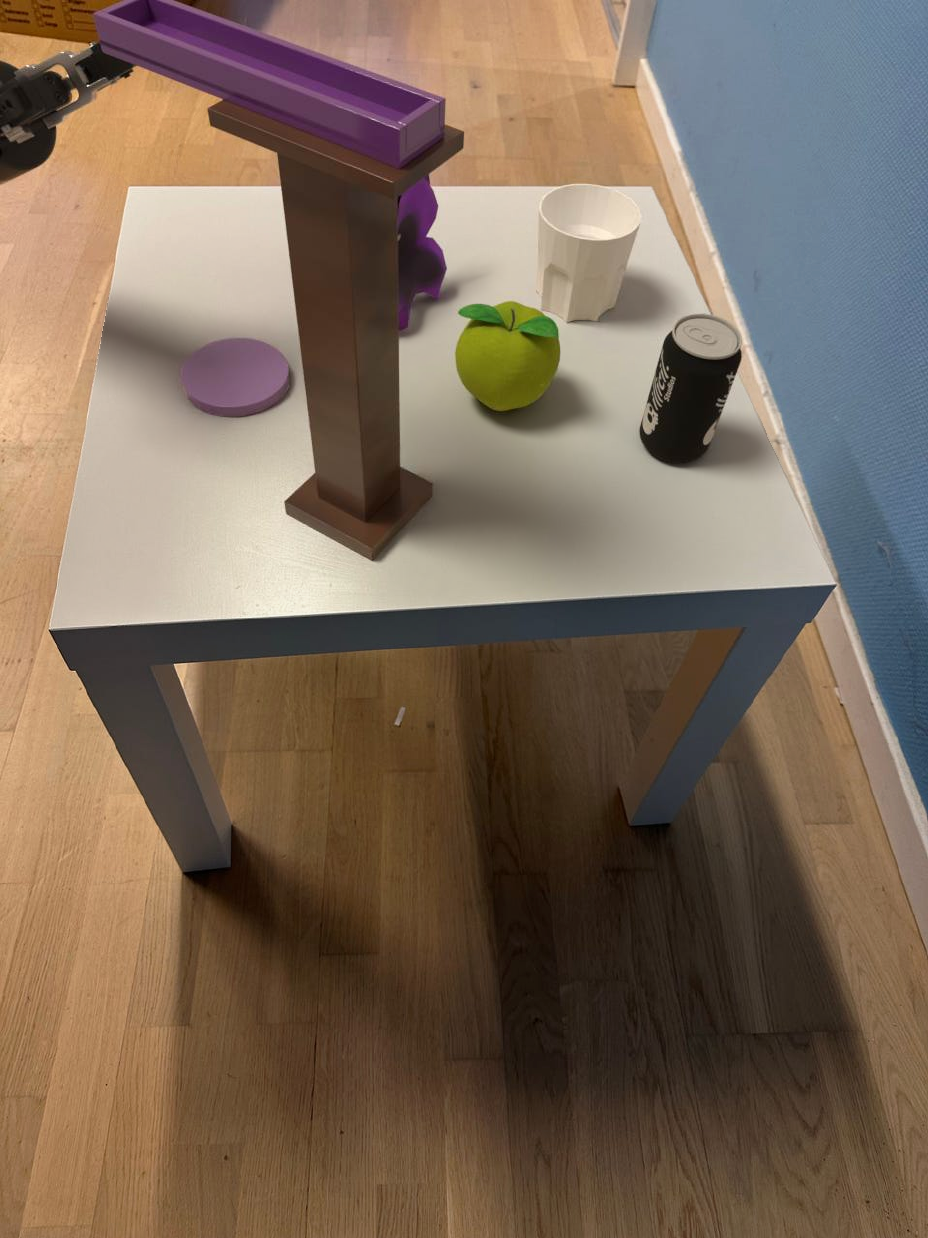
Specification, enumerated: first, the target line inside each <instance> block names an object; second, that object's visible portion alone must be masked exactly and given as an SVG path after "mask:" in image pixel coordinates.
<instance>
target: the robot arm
mask: <svg viewBox="0 0 928 1238" xmlns="http://www.w3.org/2000/svg"><path fill="white" fill-rule="evenodd" d="M57 66H61V67H62V68H63V69H64V70H65V72H66V74H67V76H65V77H63V76H62V75H61V74H60V73H58V72H56V71H53V70H52V69H53V68H55V67H57ZM135 67H138V66H137V65H134V64H132V63H129V62H127V61H124V60H121V59H119V58H116V57H114V56H111V55H109V54H106V53H104V52H103V51H102V48H101V44H100V41H97V42H96V41H92V42H91V43H89V44H88V47H86V48H84V49H82V50H80V51H79V52H77V53H75V52H73V51H72V50H63V51H60V52H58V53H57V54H54V55H52V56H51V57H49V58H47V59H45V60H43V61H41V62H40V63H31V64H27V65H25V66H23V67H21V68H18V67H16V66H15V65H13V64H11V63H9V62H6V61H3V60H0V186H2V185H4V184H6V183H8V182H10V181H13V180H15V179H16V178H19V177H20V176H23V175H25V174H27V173H29V172H30V171H33V170H35V169H37V168H39V167H40V166H42V165H43V164H44V163H46V162H47V161H48V159H50V157H51V156H52V154H53V151H54V149H55V147H56V144H57V143H56V142H57V126H59V125H60V124H62V123H64V122H66V121H67V120H68V118H69V115H70V114H73V113H74V112H76V111H78V110H80V109H82V108H84V107H85V106H87V105H89V104H91V103H93V102H95V101H96V100H97V98H98V97H97V96H98V92H99V91H102V90H103V89H105V88H107V87H108V86H112V85H115V84H116V83H118V81H120V80H121V79H128V78H129V77H131V74H132V73H134V72H135V71H134V68H135ZM75 90H76V91H77V94H78V97H77V99H76V100H75V101H73V102H72V100H73V93H72V92H73V91H75Z"/></svg>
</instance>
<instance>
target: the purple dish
mask: <svg viewBox="0 0 928 1238" xmlns="http://www.w3.org/2000/svg"><path fill="white" fill-rule="evenodd" d="M92 16H93V20H94V25H95V29H96V32H97V36H98V41H99V42H100V44H101V48H102V51H103V52H104V53H106V54H109V55H111V56H114V57H116V58H119V59H121V60H124V61H127V62H129V63H132V64H134V65H137V66H136V67H140V68H142V69H144V70H146V71H149V72H152V73H155V74H157V75H160V76H163V77H165V78H167V79H170V80H171V81H175V82H177V83H180V84H182V85H186V86H187V87H190V88H193V89H195V90H197V91H200V92H203V93H206V94H208V95H211V96H212V97H216V98H218V99H221V100H226V101H228V102H231V103H233V104H236V105H238V106H241V107H244V108H246V109H249V110H251V111H254V112H256V113H259V114H261V115H264V116H266V117H269V118H272V119H274V120H277V121H279V122H282V123H284V124H287V125H289V126H292V127H294V128H297V129H300V130H302V131H305V132H307V133H310V134H312V135H315V136H317V137H320V138H322V139H325V140H328V141H330V142H333V143H335V144H338V145H340V146H343V147H345V148H348V149H350V150H353V151H355V152H358V153H361V154H363V155H366V156H368V157H371V158H373V159H376V160H378V161H381V162H383V163H386V164H389V165H391V166H394V167H396V168H399V169H400V168H402V167H403V166H405V165H406V164H407V163H409V162H410V161H412V160H413V159H414V158H416V157H417V156H419V155H420V154H421V153H423V152H424V151H426V150H427V149H428V148H430V147H431V146H433V145H434V144H435V143H437V142H438V141H440V140H441V139H442V138H444V134H445V125H446V105H447V104H446V102H447V99H446V98H445V97H443V96H440V95H437V94H435V93H432V92H429V91H427V90H423V89H420V88H418V87H415V86H412V85H409V84H407V83H404V82H401V81H398V80H396V79H393V78H391V77H388V76H385V75H383V74H379V73H376V72H373V71H371V70H368V69H365V68H363V67H360V66H357V65H354V64H351V63H349V62H347V61H343V60H340V59H338V58H335V57H332V56H330V55H327V54H323V53H321V52H318V51H315V50H313V49H309V48H307V47H305V46H301V45H300V44H299V45H298V44H296V43H294V42H290V41H287V40H285V39H282V38H280V37H277V36H275V35H274V36H273V35H271V34H268V33H265V32H262V31H260V30H257V29H254V28H251V27H248V26H246V25H243V24H240V23H238V22H235V21H232V20H229V19H226V18H224V17H221V16H218V15H215V14H213V13H209V12H207V11H204V10H201V9H200V8H199V9H198V8H196V7H193V6H190V5H187V4H185V3H182V2H179V1H176V0H122V1H119V2H117V3H114V4H111V5H110V6H108V7H105V8H102V9H100V10H97V11H95V12H93V13H92Z"/></svg>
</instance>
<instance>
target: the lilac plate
mask: <svg viewBox="0 0 928 1238" xmlns="http://www.w3.org/2000/svg"><path fill="white" fill-rule="evenodd" d="M180 382H181V386H182V390H183V393H184V395H185V397H186V399H187V400H188V401H189V402H190V403H191V404H192V405H193V406H194V407H196V408H197V409H198V410H201V411H203V412H205V413H208V414H210V415H214V416H218V417H227V418H228V417H229V418H236V417H245V416H250V415H254V414H258V413H261V412H263V411H266V410H267V409H269V408H271V407H273V406H274V405H276V404H278V402H279V401H280V400H281V399H282V398H283V397H284V396H285V394H286V393H287V391H288V389H289V386H290V383H291V373H290V368H289V363H288V360H287V359H286V356H285V355H284V354H283V353H282V352H281V351H280V350H279V349H278V348H276V346H273V345H271V344H270V343H267V342H266V341H262V340H259V339H254V338H247V337H232V338H231V337H230V338H222V339H219V340H215V341H213V342H209V343H207V344H204V345H203V346H201V347H199V348H197V349H196V350H195V351H194V352H192V353H191V354H190V355H189V356H188V357H187V358H186V360H185V361H184V363H183V364H182V367H181V371H180Z"/></svg>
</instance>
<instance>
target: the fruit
mask: <svg viewBox="0 0 928 1238" xmlns="http://www.w3.org/2000/svg"><path fill="white" fill-rule="evenodd" d="M457 314H458V315H459V316H461V317H463V318H466V319H469V321H468V322H467V324H466V325H465V327H464V329H463V330H462V331H461V333H460V335H459V338H458V340H457V342H456V346H455V352H454V353H455V354H454V355H455V358H454V359H455V367H456V372H457V374H458V377H459V379H460V381H461V383H462V385H463V387H464V388H465V389H466V390H467V392H468V393H469V394H471V395H472V396H473V397H474V398H476V399H477V401H479V402H481V403H482V404H483V405H485V406H486V407H488V408H489V409H492V410H493V411H497V412H504V411H509V410H513V409H521V408H525V407H527V406H529V405H531V404H533V403H534V402H536V401H537V400H538V399H540V398H541V397H542V396H543V394H544V393H545V392H546V391H547V389H548V388H549V386H550V384H552V381H553V379H554V377H555V375H556V373H557V371H558V368H559V365H560V360H561V343H560V339H559V338H560V337H559V335H560V333H559V327H558V325H557V323H556V322H555V321H554V320H553V318H551V317H549V316H547V315H545V314H544V313H543V312H542V310H539V309H538V308H535V307H530V306H528V305H524V304H522V303H520V302H517V301H513V300H508V301H504V302H501V303H498V304H496V305H493V306H492V305H490V304H486V303H485V304H484V303H471V304H467V305H465V306H463V307H461V308H460V309H459V310H458V311H457Z"/></svg>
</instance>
